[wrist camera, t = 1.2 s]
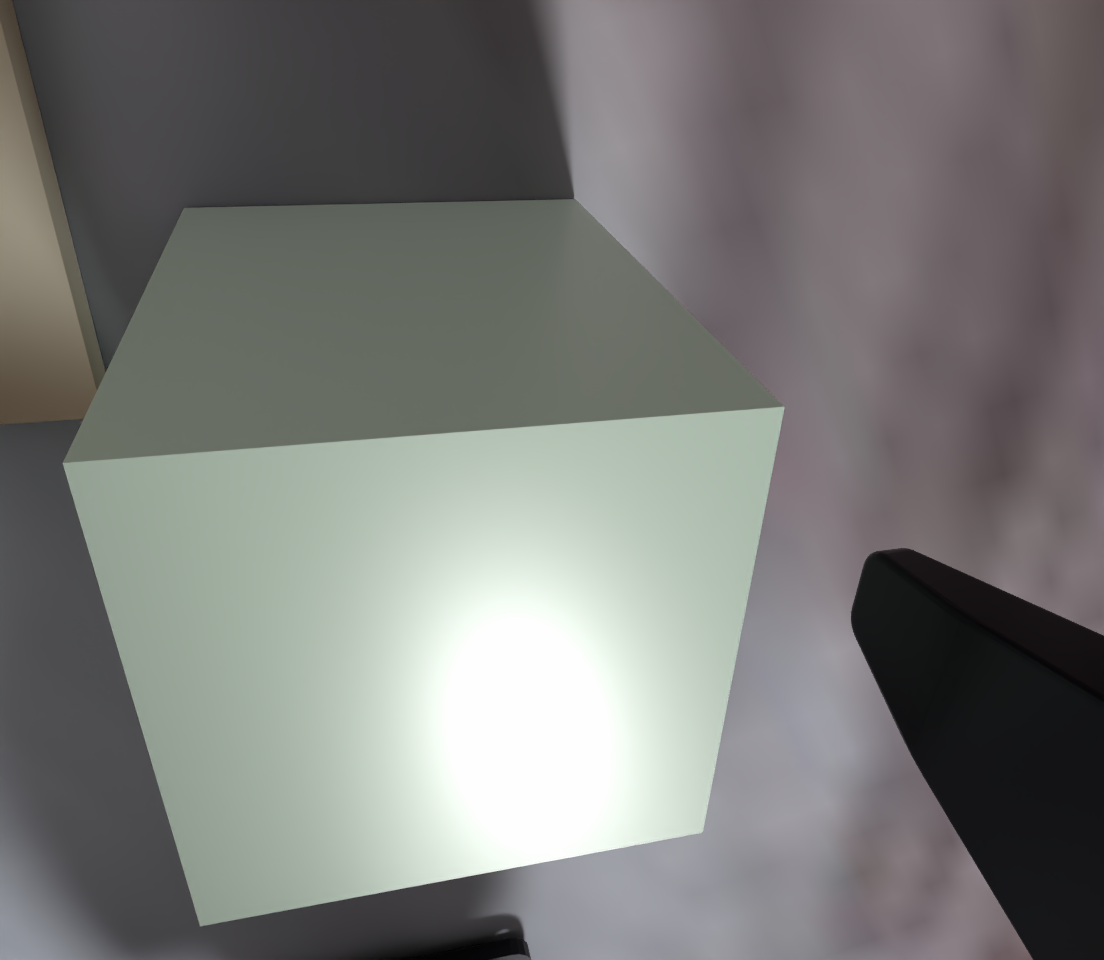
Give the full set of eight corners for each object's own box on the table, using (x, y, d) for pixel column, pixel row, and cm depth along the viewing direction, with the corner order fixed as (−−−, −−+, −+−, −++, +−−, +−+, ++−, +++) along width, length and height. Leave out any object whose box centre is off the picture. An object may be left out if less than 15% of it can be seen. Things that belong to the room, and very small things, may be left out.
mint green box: (560, 507, 15) (702, 832, 10) (244, 538, 14) (200, 926, 8) (575, 199, 12) (784, 407, 7) (184, 207, 11) (61, 463, 6)
